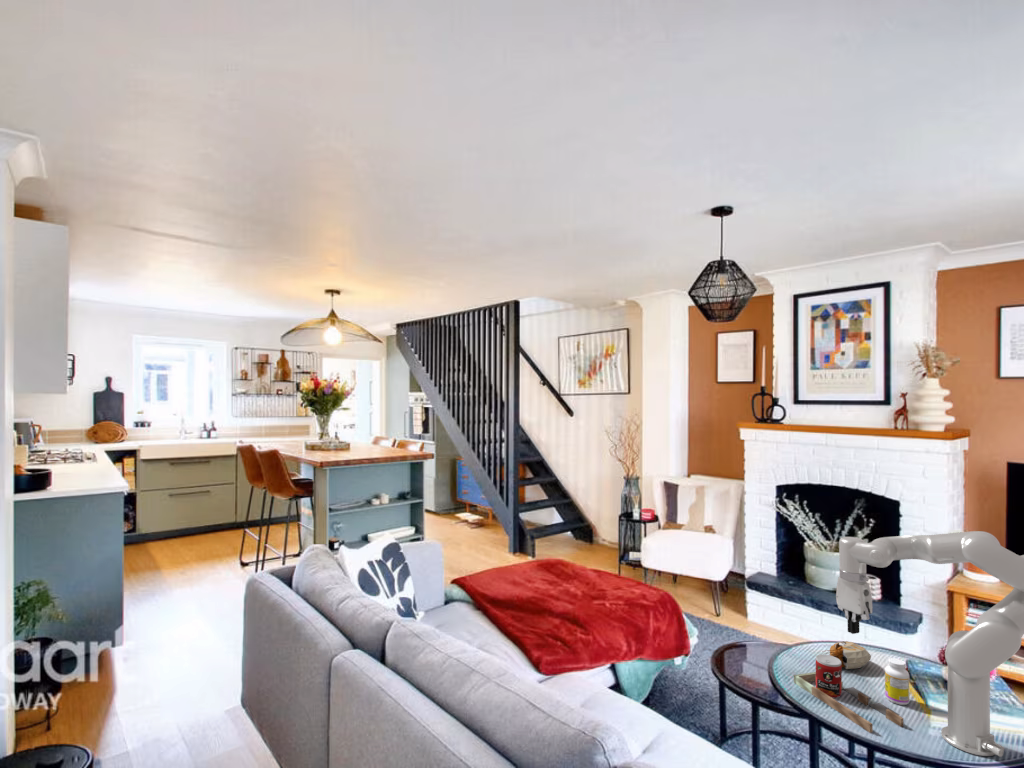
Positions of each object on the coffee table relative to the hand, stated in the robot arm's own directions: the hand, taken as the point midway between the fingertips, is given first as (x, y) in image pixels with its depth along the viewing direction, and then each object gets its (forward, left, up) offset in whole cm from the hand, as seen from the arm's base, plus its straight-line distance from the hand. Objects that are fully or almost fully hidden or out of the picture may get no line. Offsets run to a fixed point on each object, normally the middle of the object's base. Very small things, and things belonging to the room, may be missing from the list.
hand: (853, 632), depth 180 cm
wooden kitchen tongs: (+2, 0, -23) cm, 23 cm away
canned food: (+8, +2, -24) cm, 25 cm away
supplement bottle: (-1, -16, -24) cm, 29 cm away
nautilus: (+23, -19, -24) cm, 38 cm away
